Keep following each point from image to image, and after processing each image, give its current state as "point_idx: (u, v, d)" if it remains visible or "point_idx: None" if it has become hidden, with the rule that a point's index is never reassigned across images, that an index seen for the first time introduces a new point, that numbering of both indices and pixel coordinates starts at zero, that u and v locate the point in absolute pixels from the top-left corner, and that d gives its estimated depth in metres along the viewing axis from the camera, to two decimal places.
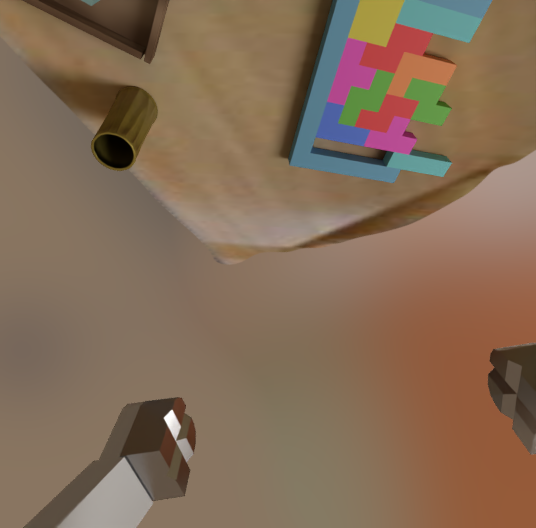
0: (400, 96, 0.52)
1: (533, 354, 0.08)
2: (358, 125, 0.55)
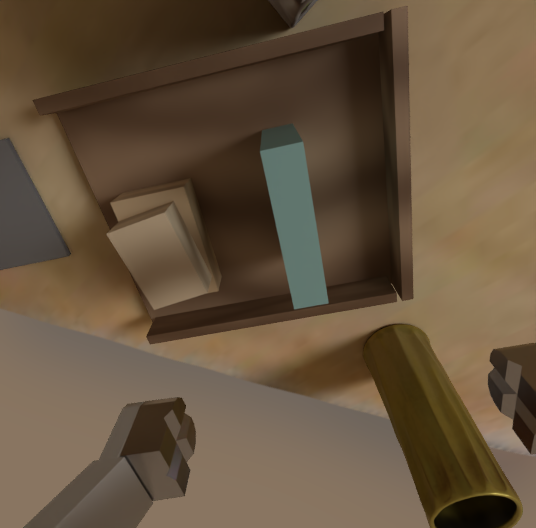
0: None
1: (533, 354, 0.08)
2: None
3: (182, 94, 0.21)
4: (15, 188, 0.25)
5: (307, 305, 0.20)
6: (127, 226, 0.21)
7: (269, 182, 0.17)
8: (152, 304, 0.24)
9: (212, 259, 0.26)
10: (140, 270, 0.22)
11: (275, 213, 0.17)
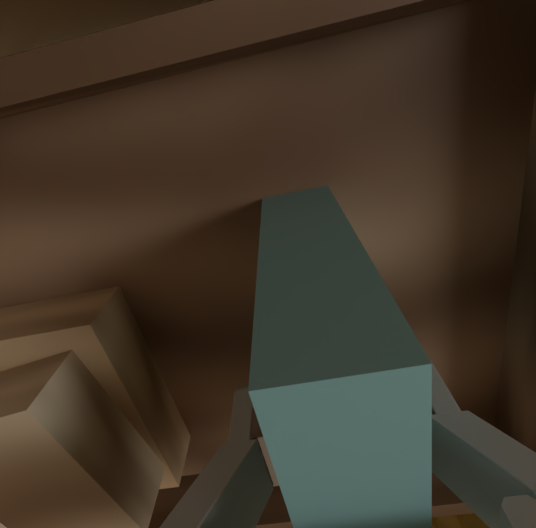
0: None
1: None
2: None
3: (84, 125, 0.10)
4: None
5: None
6: None
7: (285, 471, 0.05)
8: None
9: (169, 424, 0.14)
10: None
11: None
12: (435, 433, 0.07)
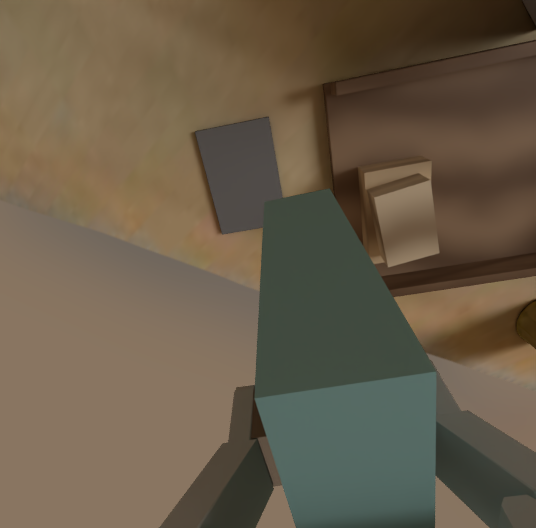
0: None
1: None
2: None
3: (437, 82, 0.26)
4: (261, 161, 0.29)
5: None
6: (394, 191, 0.25)
7: (289, 477, 0.05)
8: (388, 262, 0.27)
9: None
10: (390, 231, 0.26)
11: None
12: None
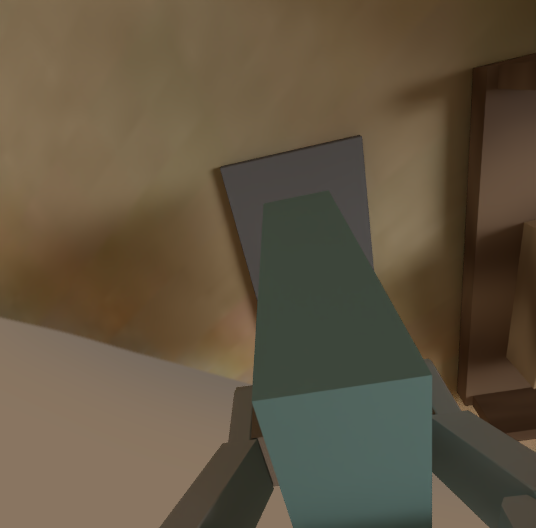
0: None
1: None
2: None
3: None
4: None
5: None
6: None
7: (287, 479, 0.05)
8: None
9: None
10: None
11: None
12: (435, 433, 0.07)
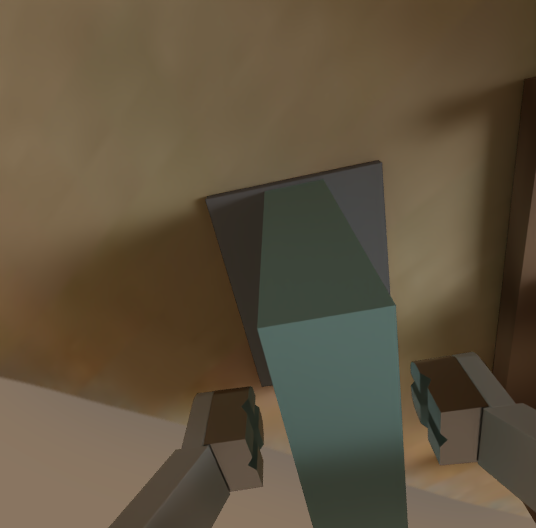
0: None
1: (444, 367, 0.08)
2: None
3: None
4: None
5: None
6: None
7: (285, 399, 0.06)
8: None
9: None
10: None
11: (298, 459, 0.06)
12: (489, 426, 0.07)
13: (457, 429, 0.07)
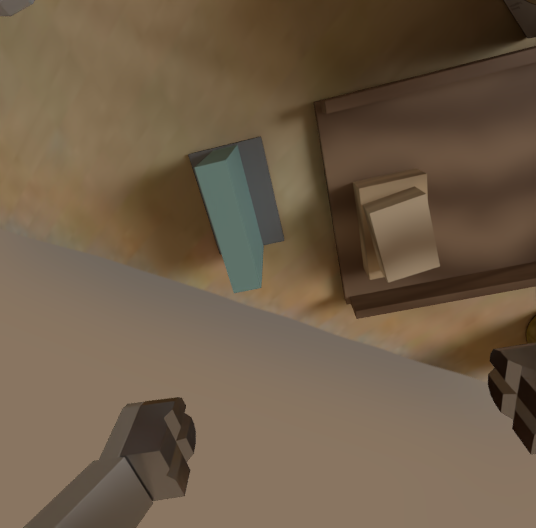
0: None
1: (533, 354, 0.08)
2: None
3: (428, 95, 0.25)
4: (256, 180, 0.29)
5: (244, 289, 0.25)
6: (389, 206, 0.25)
7: (203, 191, 0.22)
8: (388, 277, 0.27)
9: None
10: (388, 246, 0.26)
11: (210, 215, 0.22)
12: None
13: None
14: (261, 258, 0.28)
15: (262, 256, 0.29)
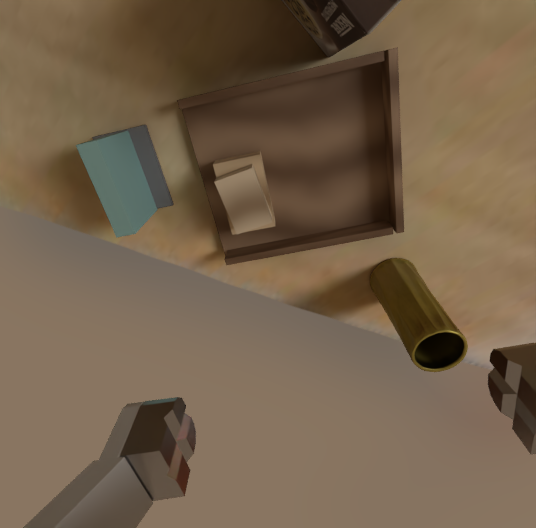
0: None
1: (533, 354, 0.08)
2: None
3: (260, 97, 0.35)
4: (145, 158, 0.38)
5: (123, 234, 0.34)
6: (227, 177, 0.34)
7: (84, 161, 0.31)
8: (236, 230, 0.37)
9: (271, 205, 0.39)
10: (232, 206, 0.36)
11: (91, 179, 0.32)
12: None
13: None
14: (147, 216, 0.38)
15: (150, 215, 0.39)
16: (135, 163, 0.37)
